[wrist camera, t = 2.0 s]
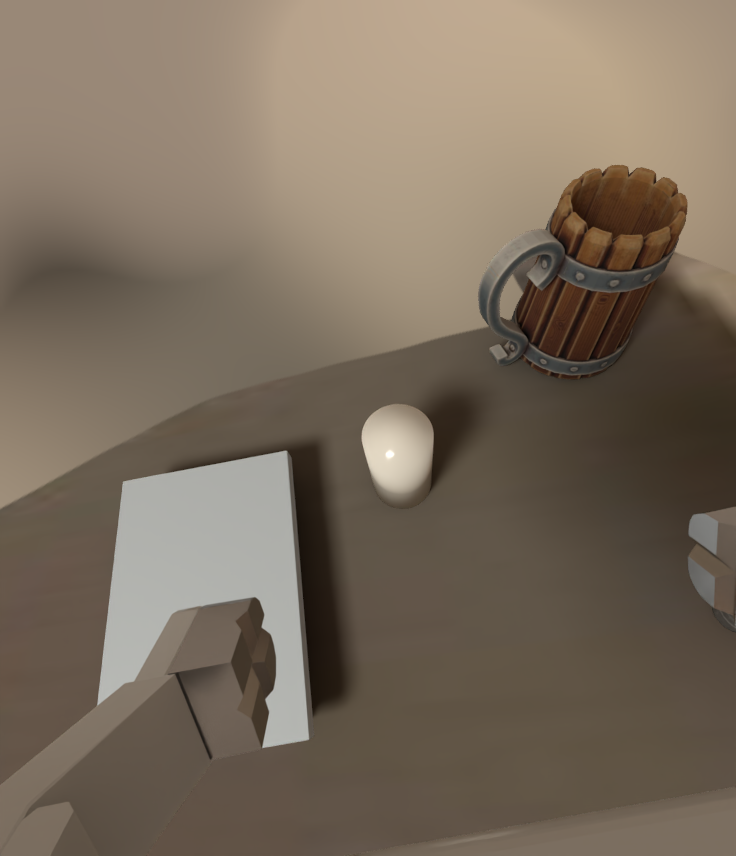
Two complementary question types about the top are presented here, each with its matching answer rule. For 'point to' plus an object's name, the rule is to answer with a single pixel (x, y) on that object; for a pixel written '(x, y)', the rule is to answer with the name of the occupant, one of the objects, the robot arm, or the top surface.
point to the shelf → (212, 571)
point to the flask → (725, 619)
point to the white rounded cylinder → (399, 454)
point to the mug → (585, 272)
